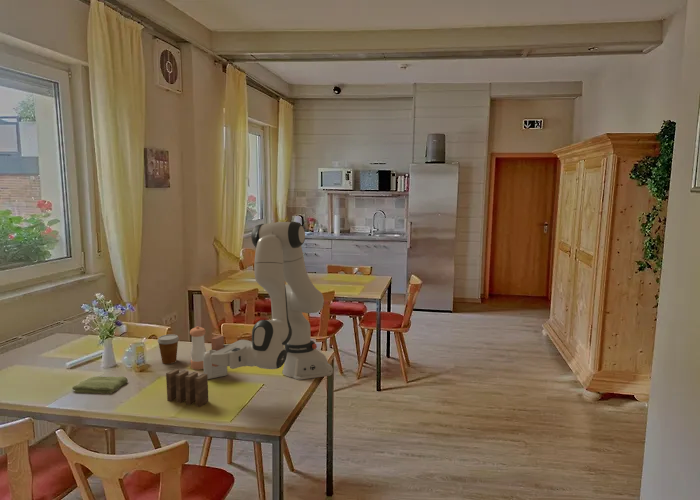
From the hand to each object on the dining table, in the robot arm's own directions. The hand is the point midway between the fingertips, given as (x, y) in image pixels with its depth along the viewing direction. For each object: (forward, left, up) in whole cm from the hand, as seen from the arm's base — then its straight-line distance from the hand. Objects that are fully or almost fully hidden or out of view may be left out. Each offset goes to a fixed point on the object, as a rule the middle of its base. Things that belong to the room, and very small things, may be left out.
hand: (215, 349), depth 193 cm
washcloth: (+49, -16, -20) cm, 55 cm away
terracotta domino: (-1, 0, -6) cm, 6 cm away
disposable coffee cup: (+27, -43, -20) cm, 55 cm away
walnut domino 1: (+17, -1, -19) cm, 26 cm away
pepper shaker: (+12, -34, -20) cm, 41 cm away
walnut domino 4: (+5, +6, -19) cm, 21 cm away
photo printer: (+3, -21, -20) cm, 29 cm away
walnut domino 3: (+9, +4, -19) cm, 22 cm away
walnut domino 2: (+13, +2, -19) cm, 23 cm away
